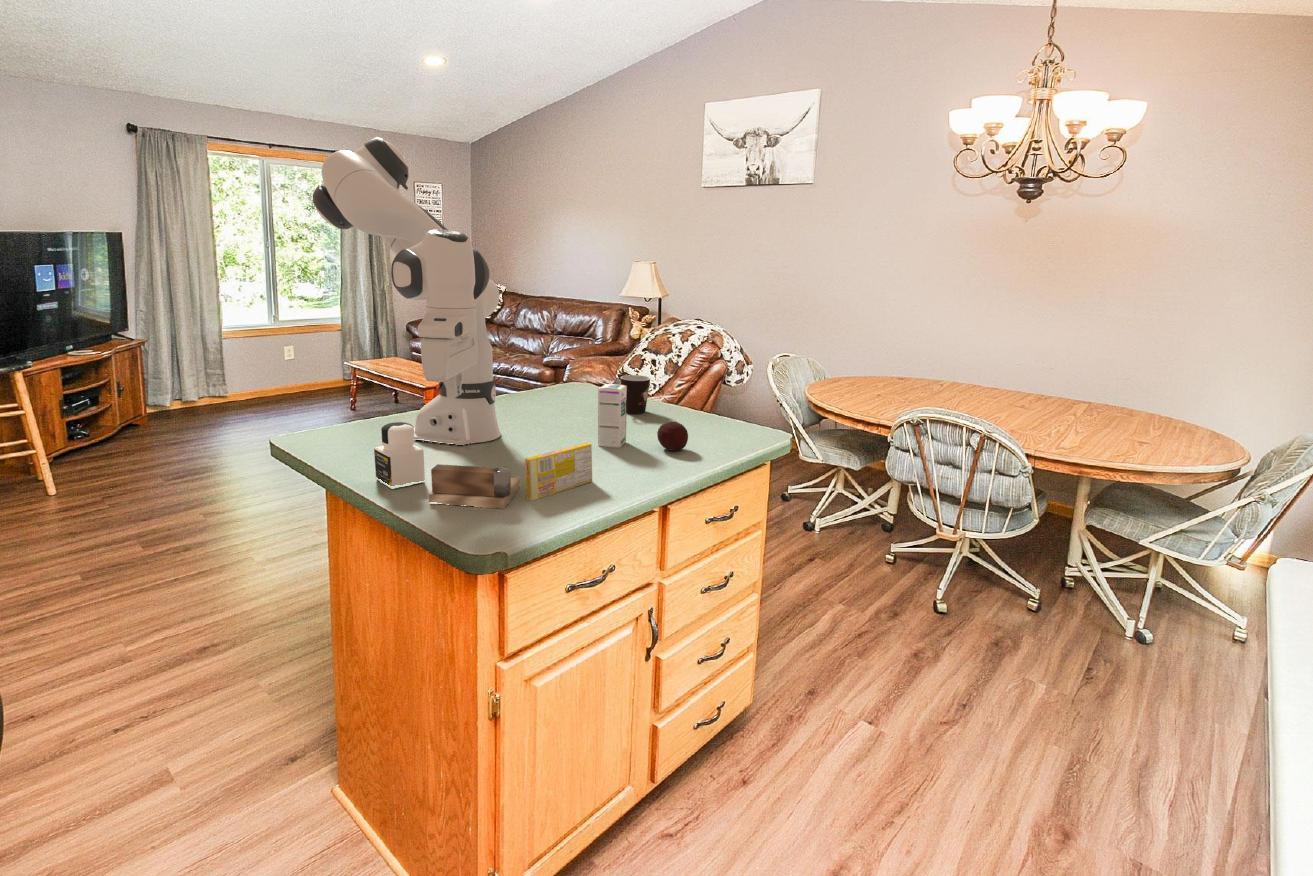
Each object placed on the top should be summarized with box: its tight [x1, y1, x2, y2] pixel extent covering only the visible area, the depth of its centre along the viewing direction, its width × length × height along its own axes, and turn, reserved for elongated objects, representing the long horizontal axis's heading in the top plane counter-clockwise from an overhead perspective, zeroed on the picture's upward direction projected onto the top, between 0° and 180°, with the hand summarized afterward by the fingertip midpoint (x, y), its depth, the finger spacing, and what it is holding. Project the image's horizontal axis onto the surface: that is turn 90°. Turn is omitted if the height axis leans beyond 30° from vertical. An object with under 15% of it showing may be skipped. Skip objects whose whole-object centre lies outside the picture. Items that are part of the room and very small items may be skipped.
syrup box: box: [597, 383, 627, 449], centre depth 177 cm, size 6×6×14 cm
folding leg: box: [430, 463, 512, 497], centre depth 136 cm, size 14×4×4 cm, turn 86°
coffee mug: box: [620, 374, 651, 415], centre depth 211 cm, size 12×9×10 cm
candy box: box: [524, 442, 593, 501], centre depth 145 cm, size 16×2×8 cm, turn 139°
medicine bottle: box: [373, 421, 426, 486], centre depth 145 cm, size 7×7×12 cm
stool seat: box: [428, 477, 521, 510], centre depth 141 cm, size 14×12×2 cm
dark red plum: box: [656, 421, 689, 452], centre depth 176 cm, size 7×8×7 cm
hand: (454, 396), depth 137 cm, fingers closed
